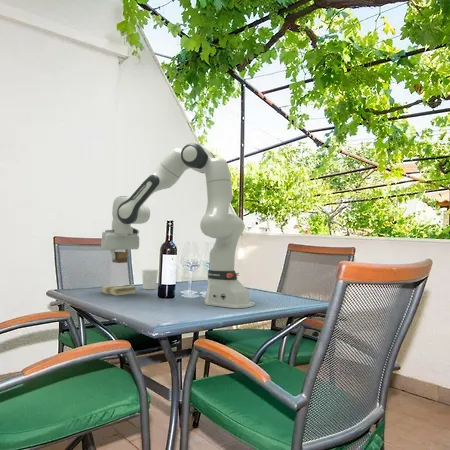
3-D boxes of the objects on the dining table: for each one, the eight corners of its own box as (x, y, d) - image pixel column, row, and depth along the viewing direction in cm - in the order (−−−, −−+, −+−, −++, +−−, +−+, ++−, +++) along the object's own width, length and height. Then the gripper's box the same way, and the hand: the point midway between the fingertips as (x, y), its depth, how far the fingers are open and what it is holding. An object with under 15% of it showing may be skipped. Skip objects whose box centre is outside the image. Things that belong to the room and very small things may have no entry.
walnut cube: (127, 262, 202) (127, 252, 203) (118, 262, 199) (119, 252, 199) (120, 261, 206) (121, 251, 206) (112, 262, 202) (112, 251, 202)
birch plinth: (135, 293, 203) (135, 286, 203) (116, 295, 194) (116, 288, 194) (120, 290, 210) (121, 284, 210) (102, 292, 201) (102, 286, 201)
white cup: (139, 289, 217) (139, 269, 217) (146, 287, 224) (146, 268, 225) (152, 290, 215) (153, 270, 215) (159, 288, 222) (160, 269, 222)
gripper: (106, 229, 192) (105, 260, 192) (141, 230, 208) (140, 258, 208) (98, 229, 196) (97, 259, 196) (133, 230, 212) (132, 258, 212)
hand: (120, 259), depth 202 cm, fingers closed on walnut cube, 5 cm apart
